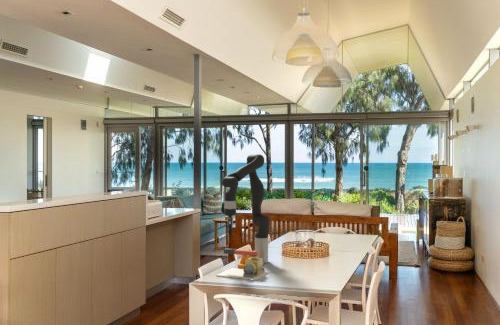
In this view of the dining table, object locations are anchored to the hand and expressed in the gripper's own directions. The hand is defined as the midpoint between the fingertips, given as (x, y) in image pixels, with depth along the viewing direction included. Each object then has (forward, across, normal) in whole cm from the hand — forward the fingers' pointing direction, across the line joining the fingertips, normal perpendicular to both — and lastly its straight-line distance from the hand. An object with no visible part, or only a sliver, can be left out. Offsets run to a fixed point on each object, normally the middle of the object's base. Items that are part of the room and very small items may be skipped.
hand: (230, 234), depth 324 cm
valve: (+23, +14, +15) cm, 31 cm away
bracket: (+23, -6, +11) cm, 26 cm away
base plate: (+23, +12, +8) cm, 27 cm away
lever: (+11, +10, +7) cm, 17 cm away
